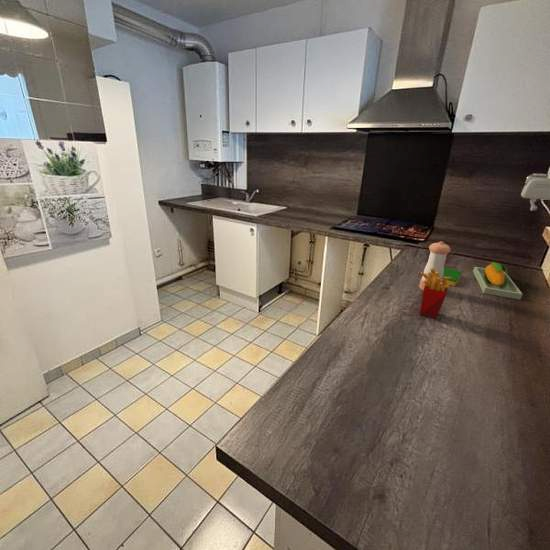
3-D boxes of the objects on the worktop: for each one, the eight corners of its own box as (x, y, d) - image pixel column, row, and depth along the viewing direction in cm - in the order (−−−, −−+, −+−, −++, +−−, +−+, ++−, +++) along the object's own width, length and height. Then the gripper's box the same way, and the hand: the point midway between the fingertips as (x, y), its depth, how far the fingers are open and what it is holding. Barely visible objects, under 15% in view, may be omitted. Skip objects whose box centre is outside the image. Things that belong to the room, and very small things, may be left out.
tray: (472, 271, 132) (474, 266, 131) (503, 276, 128) (505, 271, 127) (483, 293, 112) (485, 287, 111) (520, 299, 107) (522, 294, 106)
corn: (506, 260, 123) (515, 276, 107) (501, 276, 126) (510, 294, 110) (485, 258, 127) (491, 273, 110) (481, 274, 129) (486, 291, 113)
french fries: (441, 312, 97) (453, 270, 91) (438, 323, 91) (451, 279, 85) (412, 304, 101) (422, 264, 95) (408, 314, 95) (419, 272, 89)
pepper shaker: (431, 284, 118) (443, 238, 110) (443, 292, 111) (457, 244, 103) (415, 285, 117) (426, 239, 109) (426, 293, 110) (439, 244, 102)
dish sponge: (460, 276, 126) (462, 271, 125) (454, 286, 116) (456, 281, 116) (442, 272, 130) (444, 267, 130) (435, 281, 121) (436, 276, 120)
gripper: (531, 173, 110) (517, 210, 115) (602, 177, 102) (584, 216, 108) (525, 172, 115) (513, 207, 121) (593, 176, 108) (576, 213, 113)
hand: (547, 211), depth 114 cm, fingers open, 8 cm apart
